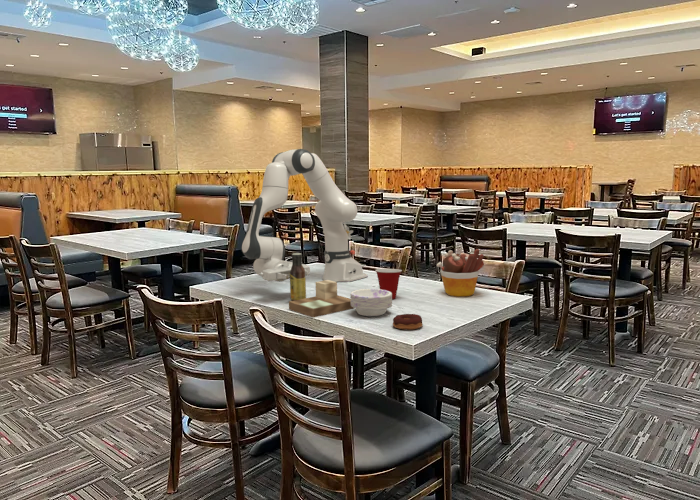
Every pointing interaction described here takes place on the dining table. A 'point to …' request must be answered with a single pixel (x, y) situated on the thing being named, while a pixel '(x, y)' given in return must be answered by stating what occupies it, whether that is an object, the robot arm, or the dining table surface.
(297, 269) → the sauce bottle
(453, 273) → the bucket of meat
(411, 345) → the dining table surface
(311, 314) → the walnut board
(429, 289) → the dining table surface
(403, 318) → the donut
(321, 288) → the birch cube
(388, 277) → the plastic cup
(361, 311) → the paper bowls
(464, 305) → the dining table surface
